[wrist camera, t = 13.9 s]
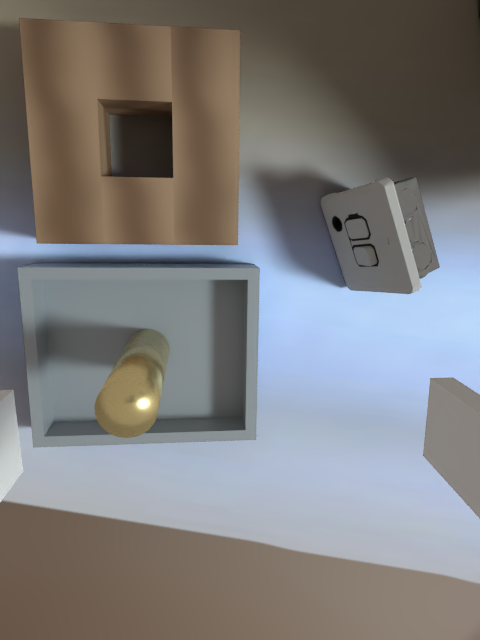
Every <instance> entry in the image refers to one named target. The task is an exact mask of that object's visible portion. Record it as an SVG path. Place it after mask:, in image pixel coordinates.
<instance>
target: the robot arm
mask: <svg viewBox="0 0 480 640" xmlns="http://www.w3.org/2000/svg"><path fill="white" fill-rule="evenodd" d="M479 14H480V0H479ZM423 456H424V457H425V458H426V459H427V460H428V462H429V463H430V464H431V465H432V466H433V467H434V468H435V469H436V470H437V472H438V473H439V474H440V475H441V476H442V477H443V478H444V479H445V480H446V482H447V483H448V484H449V485H450V486H451V487H452V488H453V489H454V490H455V492H456V493H457V494H458V495H459V496H460V497H461V498H462V499H463V500H464V501H465V503H466V504H467V505H468V506H469V507H470V508H471V509H472V510H473V511H474V513H475V514H476V515H477V516H478V517H479V518H480V395H479V394H477V393H476V392H474V391H473V390H471V389H470V388H468V387H467V386H465V385H464V384H462V383H461V382H459V381H458V380H456V379H455V378H430V388H429V399H428V409H427V420H426V431H425V441H424V452H423ZM22 472H23V466H22V457H21V449H20V440H19V432H18V424H17V415H16V407H15V399H14V390H0V502H1V501H2V499H3V498H4V497H5V495H6V494H7V492H8V491H9V490H10V488H11V487H12V486H13V484H14V483H15V481H16V480H17V479H18V477H19V476H20V475H21V473H22Z"/></svg>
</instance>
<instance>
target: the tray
mask: <svg viewBox="0 0 480 640" xmlns="http://www.w3.org/2000/svg"><path fill="white" fill-rule="evenodd" d="M17 269H18V280H19V291H20V303H21V314H22V325H23V337H24V348H25V359H26V370H27V382H28V393H29V404H30V416H31V427H32V438H33V447H60V446H89V445H118V444H147V443H176V442H205V441H234V440H256V414H257V367H258V321H259V274H260V268H259V267H257V266H256V265H254V264H109V263H33V264H29V265H25V266H21V267H17ZM143 329H153V330H156V331H158V332H160V333H161V334H163V335H164V336H165V338H166V339H167V341H168V343H169V347H170V353H169V358H168V363H167V368H166V373H165V379H164V384H163V389H162V394H161V399H160V404H159V409H158V414H157V418H156V421H155V423H154V424H153V426H152V427H151V428H150V429H149V430H148V431H147V432H145V433H144V434H142V435H140V436H137V437H132V438H121V437H117V436H114V435H111V434H110V433H108V432H107V431H105V430H104V429H103V428H102V427H101V426H100V424H99V423H98V421H97V419H96V416H95V401H96V398H97V396H98V394H99V392H100V391H101V389H102V387H103V385H104V384H105V382H106V380H107V378H108V376H109V375H110V373H111V371H112V369H113V367H114V366H115V364H116V362H117V360H118V359H119V357H120V355H121V353H122V351H123V350H124V348H125V346H126V344H127V342H128V341H129V339H130V338H131V336H132V335H133V334H134V333H136V332H138V331H140V330H143Z"/></svg>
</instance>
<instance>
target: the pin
mask: <svg viewBox="0 0 480 640" xmlns="http://www.w3.org/2000/svg"><path fill="white" fill-rule="evenodd" d="M169 353H170V347H169V343H168V341H167V339H166V338H165V336H164V335H163V334H161V333H160V332H158V331H156V330H153V329H143V330H140V331H138V332H136V333H134V334H133V335H132V336H131V338H130V339H129V341H128V342H127V344H126V346H125V348H124V350H123V351H122V353H121V355H120V357H119V359H118V360H117V362H116V364H115V366H114V367H113V369H112V371H111V373H110V375H109V376H108V378H107V380H106V382H105V384H104V385H103V387H102V389H101V391H100V392H99V394H98V396H97V398H96V401H95V416H96V419H97V421H98V423H99V424H100V426H101V427H102V428H103V429H104V430H105V431H107V432H108V433H110V434H111V435H114V436H117V437H121V438H132V437H137V436H140V435H142V434H144V433H145V432H147V431H148V430H149V429H150V428H151V427H152V426H153V424H154V423H155V421H156V418H157V414H158V409H159V404H160V399H161V394H162V389H163V384H164V379H165V373H166V368H167V363H168V358H169Z"/></svg>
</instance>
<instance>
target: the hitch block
mask: <svg viewBox="0 0 480 640" xmlns="http://www.w3.org/2000/svg"><path fill="white" fill-rule="evenodd" d="M19 24H20V37H21V50H22V62H23V75H24V88H25V100H26V113H27V126H28V139H29V151H30V164H31V177H32V189H33V202H34V215H35V227H36V240H37V243H49V244H172V245H238V191H239V104H240V30H227V29H209V28H191V27H172V26H154V25H136V24H118V23H100V22H81V21H63V20H45V19H27V18H19ZM109 114H116V115H144V116H172V133H173V178H150V177H112V172H111V149H110V126H109Z"/></svg>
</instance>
